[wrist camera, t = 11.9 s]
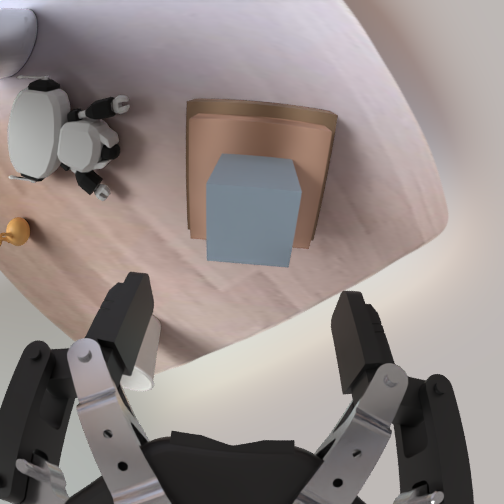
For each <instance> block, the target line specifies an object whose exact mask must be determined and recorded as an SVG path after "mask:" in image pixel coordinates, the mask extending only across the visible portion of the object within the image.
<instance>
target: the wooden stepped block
mask: <svg viewBox="0 0 504 504" xmlns="http://www.w3.org/2000/svg"><path fill="white" fill-rule="evenodd" d="M337 117H338V115H336V114H334V113H333V112H331V111H327V110H322V109H316V108H309V107H303V106H296V105H288V104H280V103H270V102H260V101H247V100H230V99H193V100H190V101H187V112H186V189H187V220H188V229H190V234H191V238H192V239H204V240H206V183H207V181H208V179H209V177H210V175H211V174H212V172H213V170H214V168H215V166H216V164H217V162H218V160H219V158H220V156H221V155H222V153H223V154H239V155H252V156H264V157H274V158H284V159H292V161H293V164H294V167H295V170H296V174H297V177H298V181H299V184H300V187H301V191H302V194H301V200H300V206H299V212H298V218H297V223H296V229H295V235H294V240H293V245H292V247H293V248H304V249H309V246H310V242H311V240H312V241H313V239H314V235H315V230H316V226H317V222H318V217H319V212H320V208H321V203H322V198H323V193H324V189H325V184H326V179H327V173H328V168H329V163H330V158H331V152H332V147H333V141H334V135H335V129H336V123H337Z"/></svg>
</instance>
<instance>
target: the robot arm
mask: <svg viewBox="0 0 504 504" xmlns="http://www.w3.org/2000/svg"><path fill="white" fill-rule="evenodd" d="M36 35H37V19H36V16H35V14H34V13H33V12H32V10H29V9H13V8H0V79H2V78H6V77H10V76H12V75H14V74H15V73H17V72H18V71H19V70H20V69H21V68H22V67H23V65H24V64H25V63H26V61H27V59H28V58H29V56H30V54H31V51H32V49H33V46H34V43H35V40H36ZM153 308H154V300H153V295H152V290H151V285H150V280H149V276H148V274H146V273H137V272H129V274H128V275H127V277H126V279H125V281H124V283H117V284H116V285H115V286H113V287H112V288H111V289H110V290H109V292H108V294H107V295H106V297H105V299H104V301H103V303H102V305H101V307H100V309H99V311H98V313H97V315H96V316H95V318H94V320H93V322H92V324H91V327H90V329H89V331H88V333H87V335H86V337H85V338H84V339H80V340H77V341H76V342H74V343H73V344H72V345H71V347H70V348H67V349H50V348H49V346H48V345H47V344H46V343H45V342H43V341H34V342H32V343H30V344H29V345H28V346H27V347H26V348H25V349H24V351H23V353H22V355H21V358H20V360H19V362H18V365H17V367H16V369H15V371H14V374H13V376H12V379H11V381H10V384H9V386H8V389H7V391H6V394H5V397H4V400H3V403H2V405H1V408H0V499H2V500H5V501H8V502H10V503H12V504H366V503H365V502H363V501H362V500H361V499H360V498H359V497H358V496H357V494H358V493H359V491H360V490H361V488H362V487H363V485H364V484H365V482H366V480H367V479H368V477H369V475H370V473H371V472H372V470H373V469H374V467H375V465H376V463H377V462H378V460H379V458H380V456H381V454H382V452H383V450H384V449H385V447H386V445H387V443H388V441H389V439H390V437H391V433H392V431H391V430H390V425H391V423H392V424H394V430H395V438H396V447H397V456H398V465H399V478H400V495H399V496H398V497H397V498H396V499H395V501H394V503H393V504H474V501H473V489H472V479H471V471H470V464H469V458H468V452H467V446H466V441H465V436H464V431H463V427H462V422H461V418H460V414H459V410H458V406H457V402H456V398H455V395H454V391H453V388H452V385H451V383H450V381H449V380H448V379H447V378H446V377H445V376H443V375H440V374H434V375H431V376H430V377H429V378H428V379H427V380H426V381H425V380H421V379H416V378H411V377H408V376H407V374H406V373H405V371H404V370H403V369H402V368H401V367H400V366H398V365H396V364H395V363H394V361H393V357H392V354H391V351H390V347H389V344H388V341H387V338H386V335H385V333H384V329H383V326H382V325H381V321H380V318H379V315H378V313H377V312H376V310H375V309H374V308H373V307H372V305H371V304H365V302H364V299H363V296H362V293H361V292H357V291H342V293H341V295H340V297H339V300H338V303H337V305H336V308H335V310H334V313H333V315H332V319H331V330H332V335H333V340H334V346H335V351H336V356H337V362H338V368H339V373H340V380H341V386H342V392H343V394H352V398H353V400H352V401H351V403H350V404H349V406H348V408H347V409H346V411H345V412H344V414H343V415H342V417H341V418H340V420H339V421H338V423H337V424H336V426H335V427H334V429H333V430H332V432H331V433H330V435H329V436H328V437H327V439H326V440H325V441H324V442H323V443H322V444H321V446H320V447H319V448H318V449H317V451H316V452H315V453H314V454H313V453H311V452H309V451H307V450H305V449H302V448H299V447H295V446H294V440H291V441H288V440H287V441H285V440H284V441H283V440H282V441H279V440H278V441H276V440H263V441H258V442H253V443H247V444H241V445H234V446H232V445H228V444H225V443H222V442H219V441H216V440H213V439H210V438H207V437H205V436H202V435H195V434H189V433H182V432H177V431H172V432H171V437H163V438H158V439H155V440H152V441H149V439H148V437H147V436H146V434H145V432H144V430H143V429H142V427H141V425H140V424H139V422H138V420H137V418H136V416H135V414H134V412H133V410H132V408H131V406H130V404H129V401H128V399H127V397H126V395H125V392H124V390H123V388H122V385H121V383H120V381H121V378H122V375H127V376H131V375H132V372H133V369H134V366H135V363H136V360H137V357H138V354H139V351H140V348H141V345H142V342H143V339H144V336H145V333H146V330H147V327H148V324H149V322H150V319H151V316H152V313H153ZM75 398H78V400H79V404H78V405H77V412H78V416H79V419H80V422H81V425H82V428H83V431H84V433H85V436H86V438H87V441H88V444H89V446H90V449H91V451H92V454H93V456H94V459H95V461H96V463H97V465H98V468H99V470H100V472H101V474H102V476H101V477H99V478H98V479H96V480H95V481H94V482H92V483H91V484H90V485H88V486H86V487H85V488H83V489H82V490H80V491H79V492H77V493H76V494H74V495H73V496H71V497H69V496H68V494H67V492H66V490H65V486H66V481H65V478H64V475H63V473H62V471H61V469H60V468H59V462H60V457H61V452H62V447H63V443H64V439H65V434H66V430H67V426H68V422H69V419H70V414H71V411H72V408H73V404H74V401H75Z"/></svg>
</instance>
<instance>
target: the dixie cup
mask: <svg viewBox="0 0 504 504" xmlns="http://www.w3.org/2000/svg"><path fill="white" fill-rule="evenodd" d="M160 331H161V324H160V322H159V320H158V319H157V318H156V317H155V316H153V315H152V316H151V319H150V322H149V324H148V327H147V330H146V333H145V336H144V339H143V342H142V345H141V348H140V351H139V354H138V357H137V360H136V363H135V366H134V369H133V372H132V375H131V376H127V375H122V378H121V381H120V383H121V385H122V387H124V388H127V389H130V390H134V391H148V390H151V389H152V388H153V387H154V381H153V378H154V370H155V363H156V356H157V350H158V344H159V337H160Z"/></svg>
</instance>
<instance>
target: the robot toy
mask: <svg viewBox="0 0 504 504" xmlns="http://www.w3.org/2000/svg"><path fill="white" fill-rule="evenodd" d="M17 78H18V79H22V78H33V79H39V80H36V81H34V82H32V83H30V84H29V86H28V87H27V88H26V89H24V90H22V91H20V92H19V94H18V95H17V97H16V99H15V101H14V103H13V106H12V110H11V114H10V118H9V124H8V149H9V155H10V160H11V162H12V164H13V166H14V168H15V170H16V171H17V172H19V173H21V176H23V177H16V176H12V175H11V176H9V178H10V179H19V180H27V181H31V182H32V183H35V182H38V181H42V180H43V179H44V178H46V177H48V176H49V175H50V174H52V173H53V172H54V171H56V169H57V168H58V167H59V166H61V167H62V168H63V169H64V170H66V171H68V170H71V171H72V172H74V173H75V176H76V179H77V182H78V185H79V186H80V187H81V188H82V189H83V190H85V191H86V192H87V193H88V194H89V195H91V194H92V193H93V192H94V193H95V195H96V197H97V198H98V199H100V200H102V201H104V200H106V199H107V197H108V196H109V194H110V189H109V188H108V186H107V185H104V184H100V183H101V181H102V178H101V177H100V176H99V175H98V174H97V173H95V172H94V171H93V169H102V168H103V167H105V166H106V165H107V164H108V163H109V162H110V161H111V160H112V159H115V158H117V157H118V156H119V154H120V146H119V145H118V144H116V143H118V142H119V138H118V134H117V133H116V132H115V131H113V130H112V129H111V128H109V126H108V124H107V123H106V122H105V121H103V120H102V119H103V118H107V117H112V116H114V115H115V114H116V113H119V114H123V113H125V112H127V111H128V109H129V107H130V105H126V106H122V102H128V101H129V98H128V97H127V96H125V95H118V96H117V97H116V98H113V97H109V98H105V99H102V100H98V101H95V102H94V103H93V104H92V105H91V106H89V107H88V108H87V109H86V110H84V111H82V110H81V109H76V110H72V111H70V102H69V99H68V96H67V93H66V92H64V91H63V90H61V89H60V84H58V83H57V82H55V81H54V80H51V79H49V76H43V77H39V76H18V77H17ZM24 177H25V178H24Z"/></svg>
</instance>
